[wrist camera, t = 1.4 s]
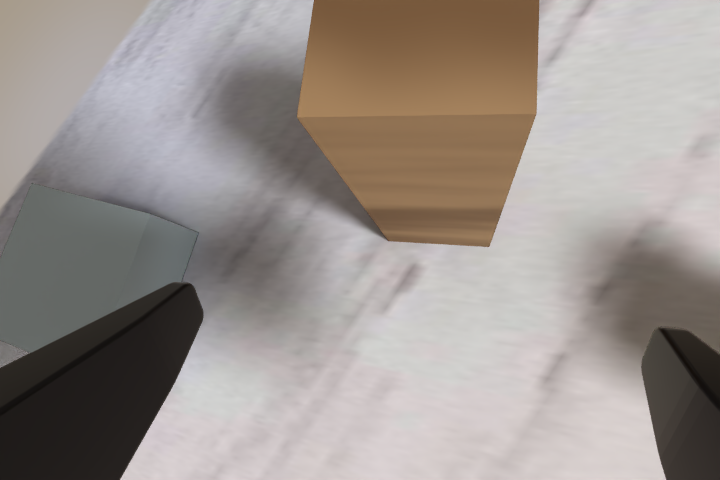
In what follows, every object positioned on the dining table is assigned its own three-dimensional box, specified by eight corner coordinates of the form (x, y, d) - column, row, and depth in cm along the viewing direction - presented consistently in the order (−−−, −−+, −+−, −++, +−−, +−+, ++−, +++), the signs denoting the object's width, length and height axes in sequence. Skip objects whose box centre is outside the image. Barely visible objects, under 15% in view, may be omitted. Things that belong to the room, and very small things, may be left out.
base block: (150, 370, 23) (90, 377, 19) (44, 329, 25) (-30, 328, 21) (198, 232, 24) (150, 213, 21) (93, 204, 26) (31, 183, 23)
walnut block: (489, 246, 21) (536, 114, 8) (388, 241, 22) (296, 117, 9) (493, 151, 22) (541, -96, 9) (397, 150, 23) (323, -69, 10)
